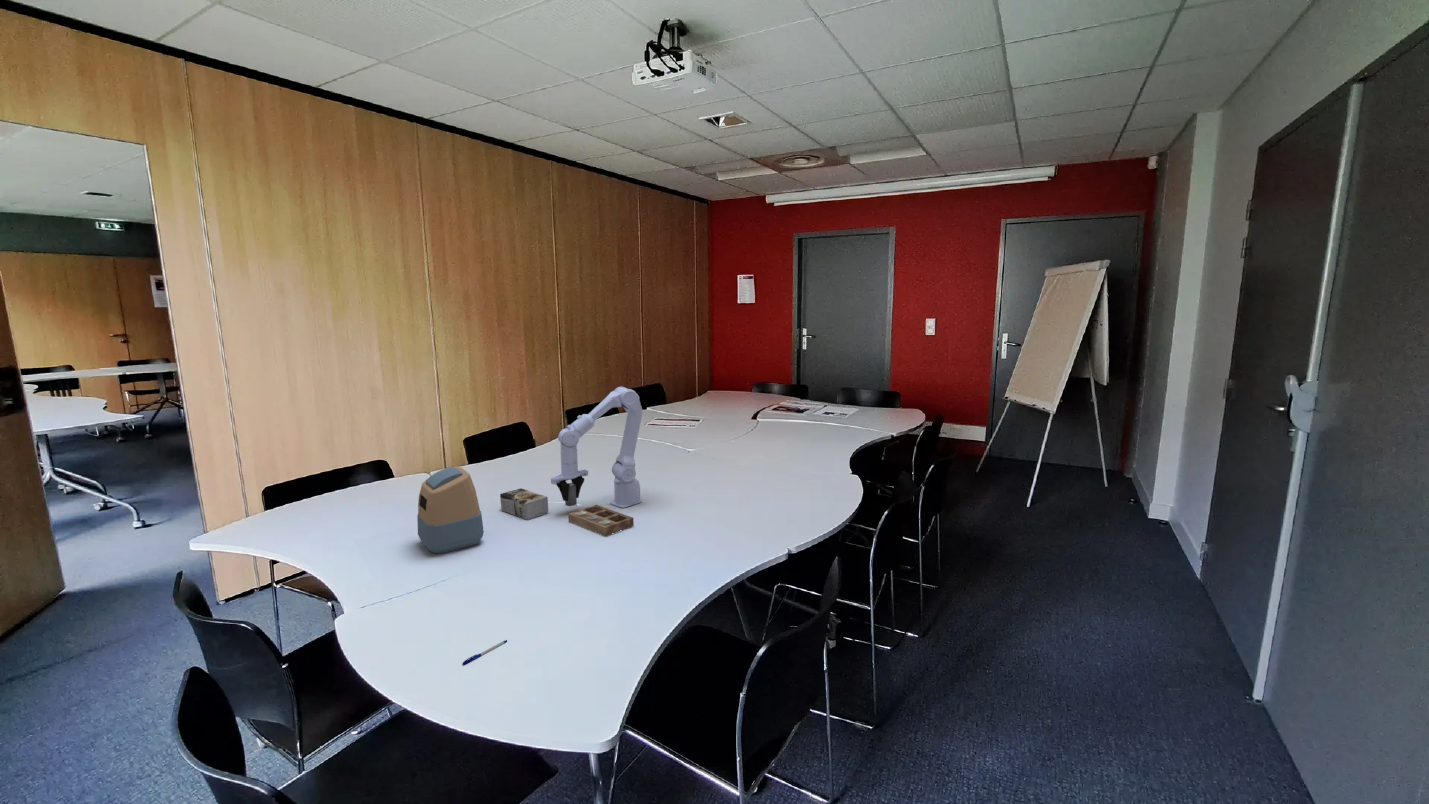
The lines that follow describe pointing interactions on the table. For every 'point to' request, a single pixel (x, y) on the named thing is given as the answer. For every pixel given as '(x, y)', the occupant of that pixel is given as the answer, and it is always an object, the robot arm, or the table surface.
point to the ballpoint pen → (482, 653)
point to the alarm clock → (449, 511)
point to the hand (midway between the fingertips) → (570, 498)
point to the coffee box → (524, 503)
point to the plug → (571, 495)
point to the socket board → (601, 520)
